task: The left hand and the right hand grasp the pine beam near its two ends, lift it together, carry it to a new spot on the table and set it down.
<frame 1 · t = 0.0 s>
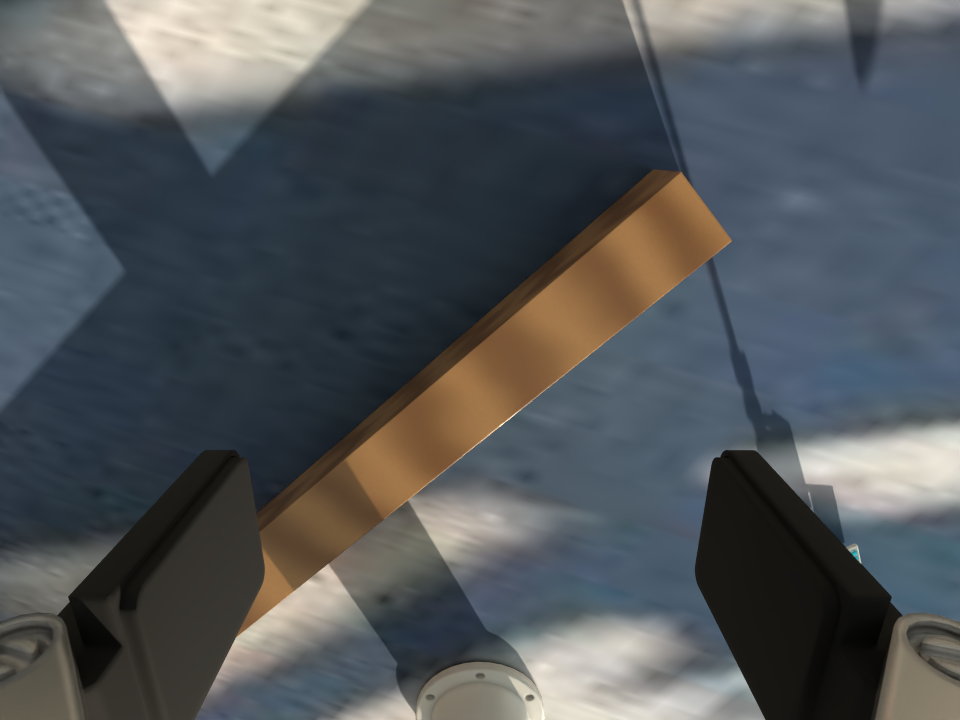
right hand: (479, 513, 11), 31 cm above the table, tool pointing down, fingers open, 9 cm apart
beam: (313, 505, 48), on the table
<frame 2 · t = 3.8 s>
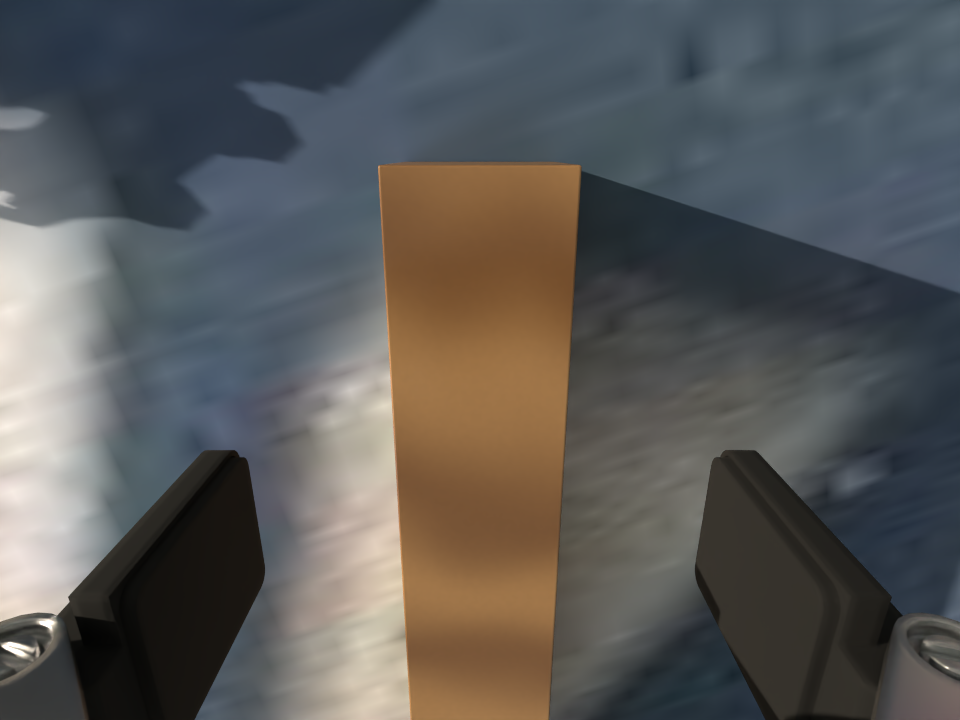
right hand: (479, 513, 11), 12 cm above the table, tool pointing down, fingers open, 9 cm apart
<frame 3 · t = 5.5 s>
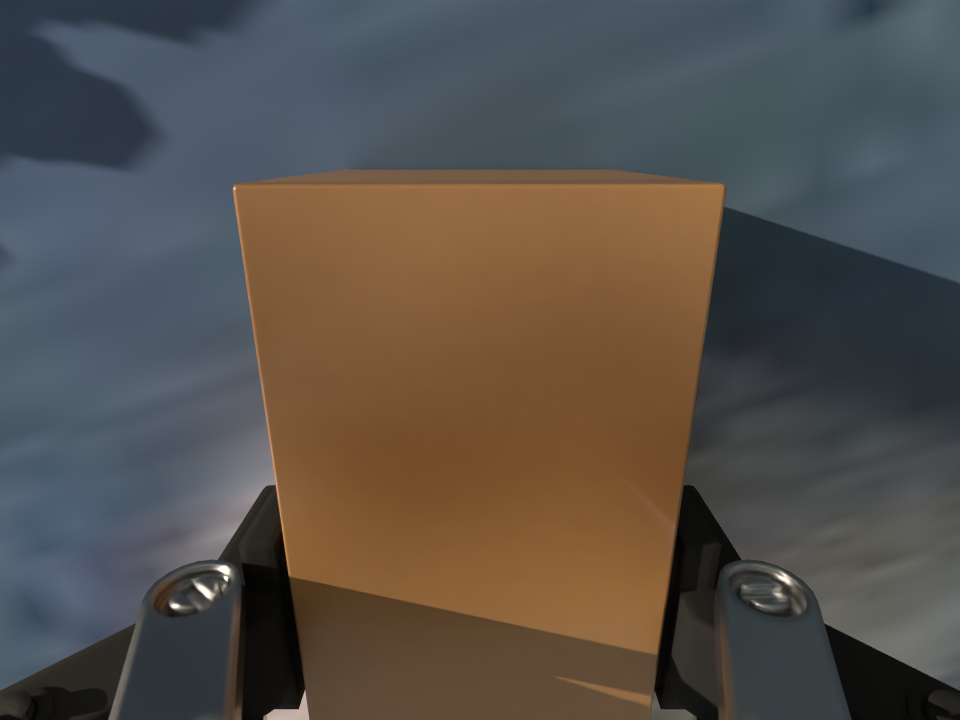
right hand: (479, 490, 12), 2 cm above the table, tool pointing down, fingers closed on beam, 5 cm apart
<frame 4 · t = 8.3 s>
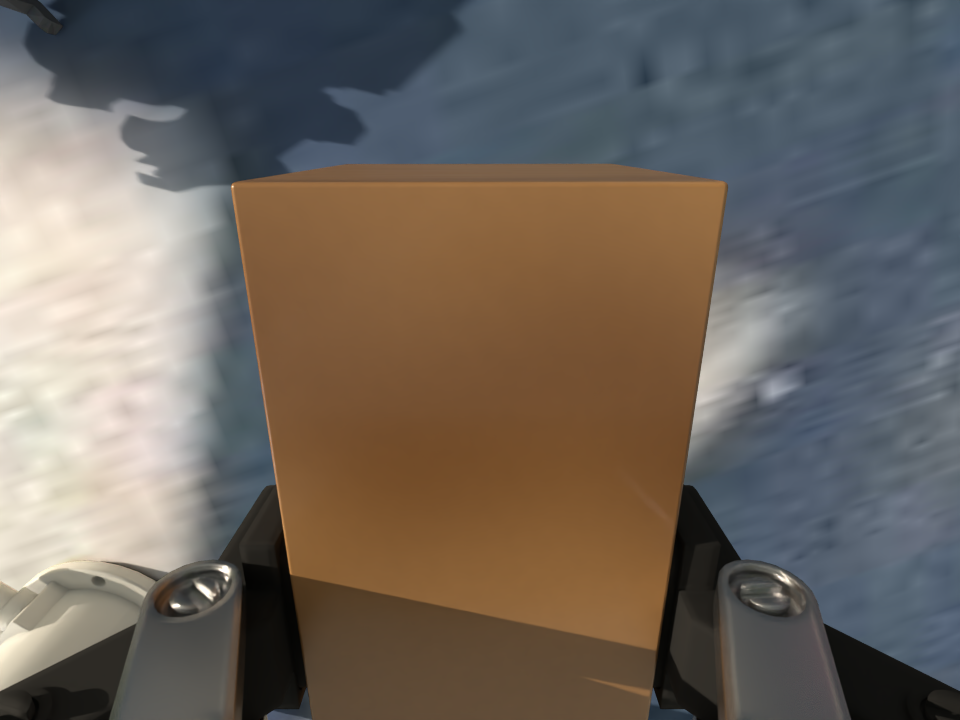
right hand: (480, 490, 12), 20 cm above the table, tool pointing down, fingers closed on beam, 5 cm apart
when the right hand's fingers open (3 cm above the table, at t = 12.8 s): beam stays where it is, on the table.
when the left hand's fingers open (4 cm above the table, at t = 12.9 s): beam stays where it is, on the table.
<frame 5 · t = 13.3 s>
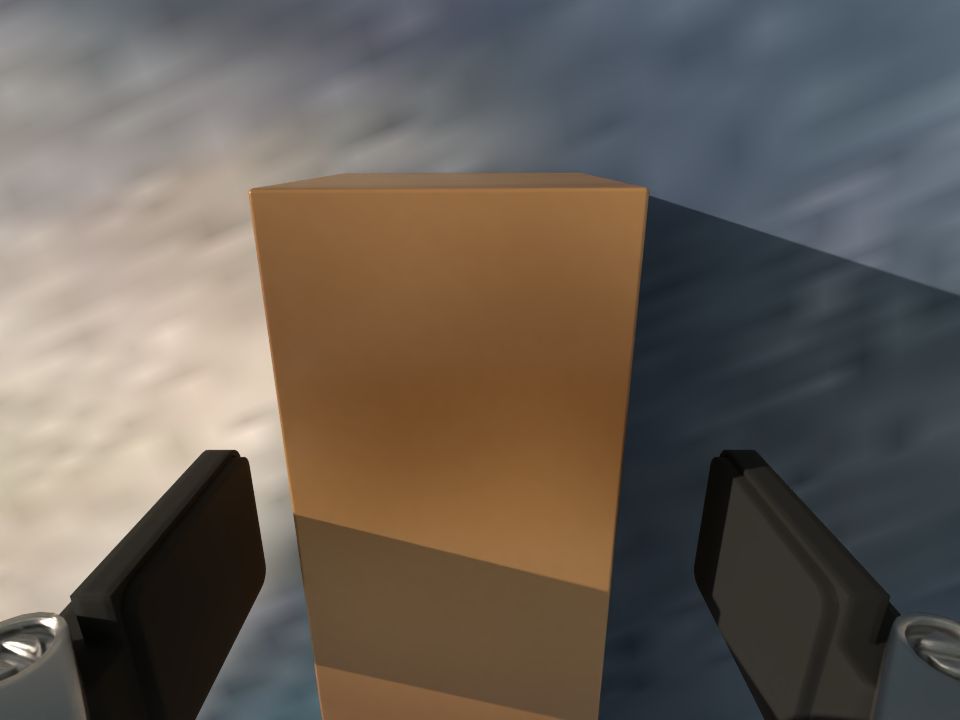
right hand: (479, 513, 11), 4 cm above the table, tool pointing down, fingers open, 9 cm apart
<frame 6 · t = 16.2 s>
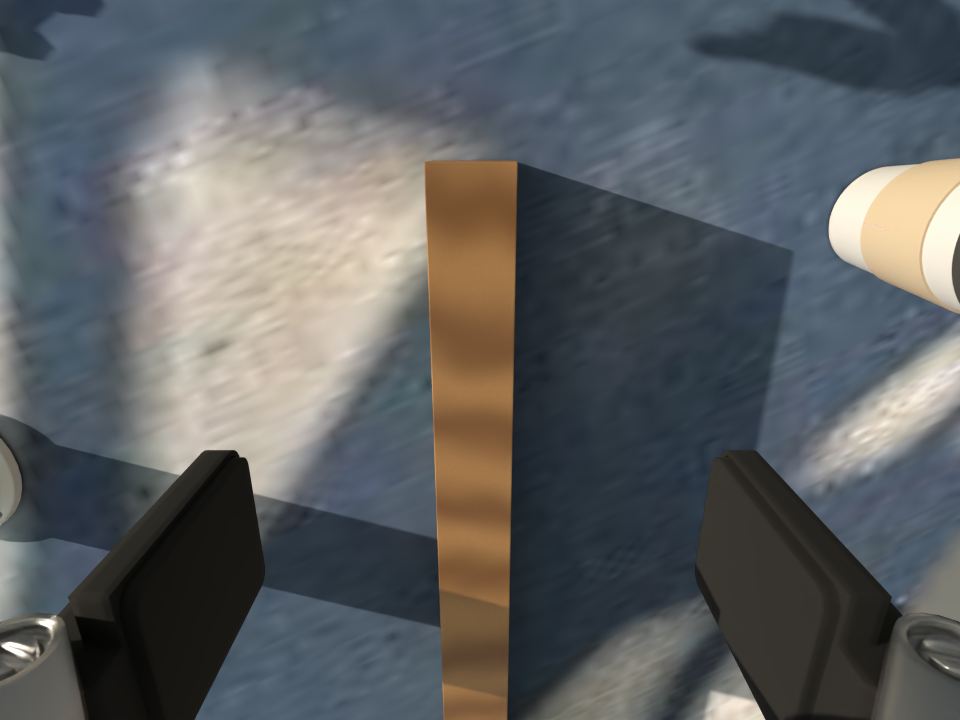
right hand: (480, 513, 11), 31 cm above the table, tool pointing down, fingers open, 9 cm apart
coffee cup: (876, 217, 40), on the table
beam: (475, 599, 51), on the table
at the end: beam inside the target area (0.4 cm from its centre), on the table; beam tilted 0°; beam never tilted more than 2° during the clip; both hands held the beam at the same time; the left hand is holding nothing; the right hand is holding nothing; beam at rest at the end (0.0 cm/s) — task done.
